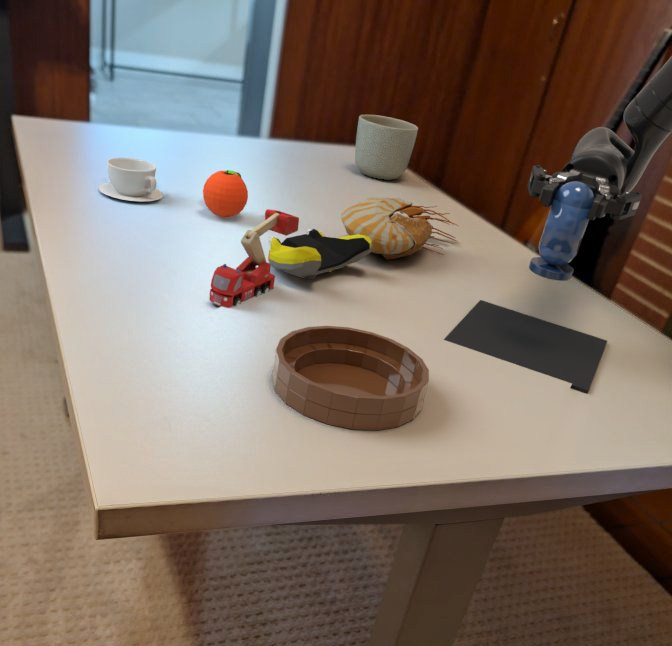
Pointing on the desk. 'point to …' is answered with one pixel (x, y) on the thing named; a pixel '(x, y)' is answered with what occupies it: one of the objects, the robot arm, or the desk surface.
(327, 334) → the bowl
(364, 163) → the planter
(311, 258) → the black yellow sneaker
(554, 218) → the blue pill figure
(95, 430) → the desk surface
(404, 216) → the nautilus shell
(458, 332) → the mat
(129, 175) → the teacup
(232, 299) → the toy fire truck
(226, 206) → the clementine
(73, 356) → the desk surface
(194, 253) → the desk surface
